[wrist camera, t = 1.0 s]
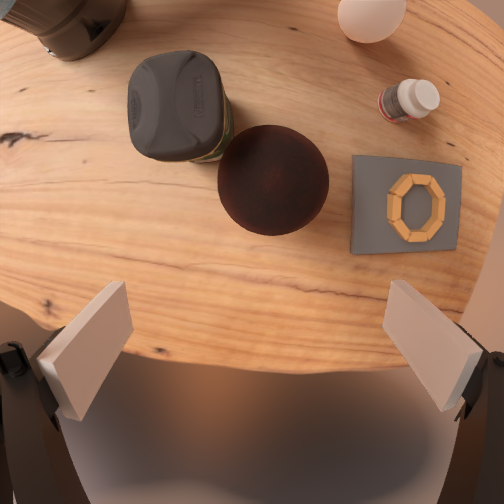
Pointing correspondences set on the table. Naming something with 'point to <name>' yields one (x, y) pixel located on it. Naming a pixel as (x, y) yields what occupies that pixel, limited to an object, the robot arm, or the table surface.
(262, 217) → the decorative mushroom
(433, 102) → the pill bottle
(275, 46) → the table surface
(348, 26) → the sauce bottle
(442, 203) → the socket board
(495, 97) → the table surface
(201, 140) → the coffee jar
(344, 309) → the table surface
